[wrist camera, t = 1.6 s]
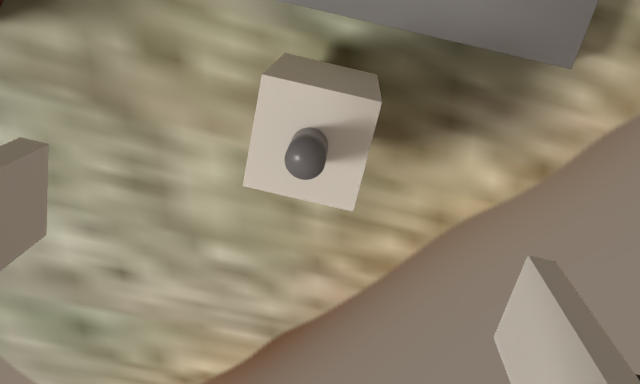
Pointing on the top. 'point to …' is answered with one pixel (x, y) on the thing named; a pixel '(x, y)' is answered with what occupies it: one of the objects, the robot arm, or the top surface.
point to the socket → (481, 23)
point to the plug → (312, 131)
